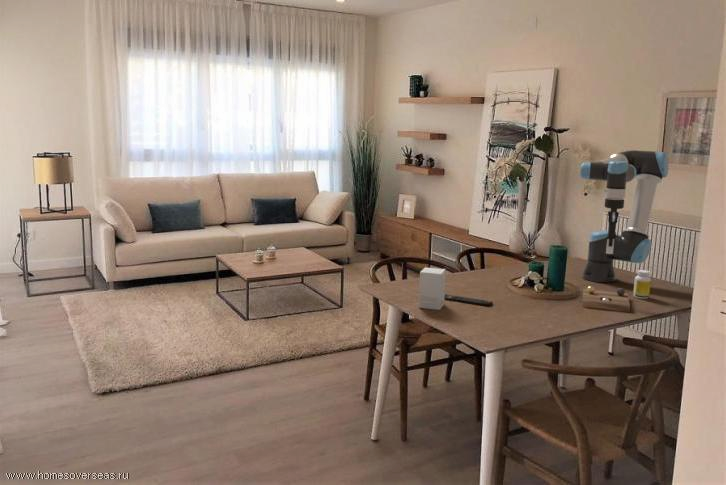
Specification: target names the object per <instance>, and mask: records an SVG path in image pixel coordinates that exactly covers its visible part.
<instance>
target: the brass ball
mask: <svg viewBox="0 0 726 485" xmlns="http://www.w3.org/2000/svg"><path fill="white" fill-rule="evenodd" d="M586 289H587V292H588V293H590V294H592V293H594V292H595V290H596V287H594V286H592V285H589V286H587V287H586Z"/></svg>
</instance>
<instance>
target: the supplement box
mask: <svg viewBox="0 0 726 485" xmlns="http://www.w3.org/2000/svg"><path fill="white" fill-rule="evenodd" d="M446 272H447V271H446V268H435V267H425V266H424V268H423V269H422V270H420V272H419V289H418V292H419V294H418V298H419V299H418V308H419V309H426V310H427V309H429V310H438V311H440V310H442V308H443V306H444V305H445V301H446V300H445V294H446V291H445V290H446Z"/></svg>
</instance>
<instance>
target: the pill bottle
mask: <svg viewBox="0 0 726 485" xmlns="http://www.w3.org/2000/svg"><path fill="white" fill-rule="evenodd" d="M651 283H652V278H651V277H650V270H644V269H639V270H638V269H637V275H636V276H635V277H634V284H633V292H632V295H633V298H634V297H635V298H637V299H642V300H647V299H649V298H650V293H651V292H650V291H651Z"/></svg>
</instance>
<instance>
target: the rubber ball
mask: <svg viewBox="0 0 726 485" xmlns="http://www.w3.org/2000/svg"><path fill="white" fill-rule="evenodd" d="M616 292H617V294H618V295H624V293H626V292H625V289H624V288H623V287H619V288H617V290H616Z"/></svg>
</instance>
